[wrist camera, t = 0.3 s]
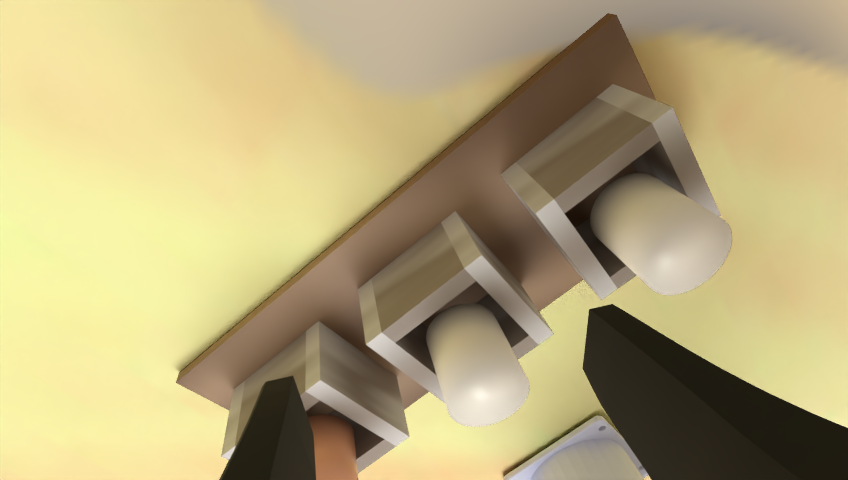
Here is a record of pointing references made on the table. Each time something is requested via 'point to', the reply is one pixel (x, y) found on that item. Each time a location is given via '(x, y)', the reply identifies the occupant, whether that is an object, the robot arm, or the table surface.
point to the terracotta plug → (334, 448)
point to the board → (459, 248)
